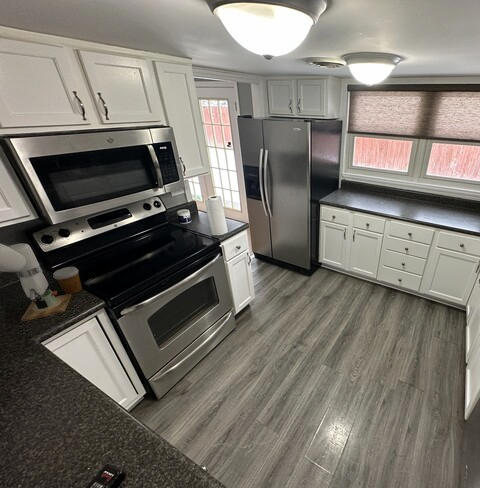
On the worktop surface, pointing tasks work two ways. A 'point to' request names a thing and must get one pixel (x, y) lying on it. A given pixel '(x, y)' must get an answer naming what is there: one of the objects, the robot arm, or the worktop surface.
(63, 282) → the disposable coffee cup
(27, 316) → the base
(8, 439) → the worktop surface
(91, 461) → the worktop surface
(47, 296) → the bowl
